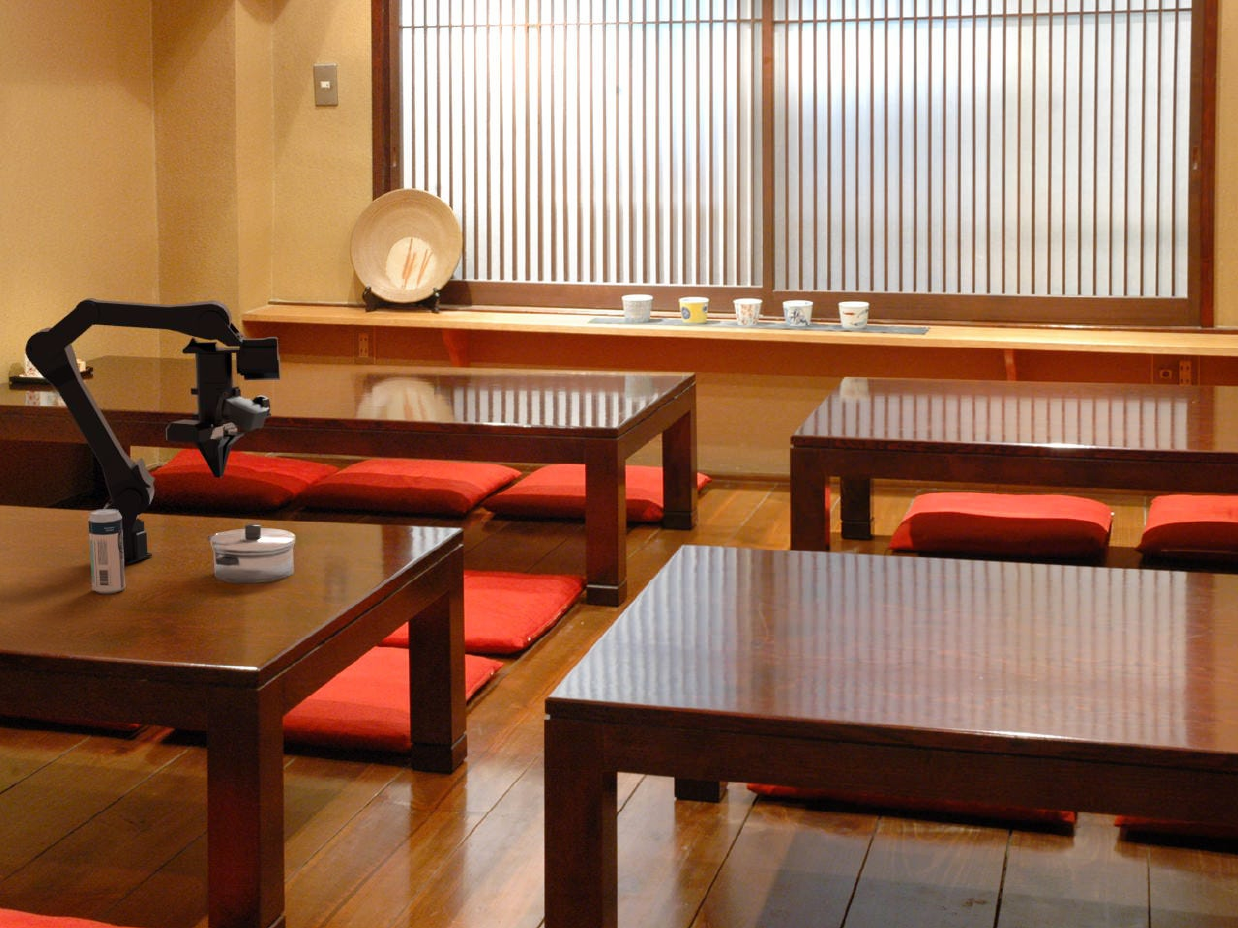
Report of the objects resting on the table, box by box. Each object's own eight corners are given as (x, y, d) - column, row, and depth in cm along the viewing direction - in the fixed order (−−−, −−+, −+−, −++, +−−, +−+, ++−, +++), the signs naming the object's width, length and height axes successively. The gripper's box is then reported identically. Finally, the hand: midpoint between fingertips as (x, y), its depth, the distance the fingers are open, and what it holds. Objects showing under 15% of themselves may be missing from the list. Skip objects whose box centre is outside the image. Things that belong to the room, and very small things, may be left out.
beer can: (132, 590, 237) (128, 511, 235) (103, 596, 233) (98, 516, 231) (114, 584, 240) (110, 506, 238) (85, 590, 236) (81, 511, 234)
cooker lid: (188, 547, 243) (187, 529, 243) (237, 529, 255) (236, 512, 254) (264, 556, 238) (264, 538, 238) (311, 538, 250) (310, 520, 249)
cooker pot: (189, 581, 242) (188, 550, 241) (250, 557, 257) (249, 528, 256) (258, 589, 238) (257, 558, 237) (316, 565, 252) (315, 535, 251)
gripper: (222, 391, 241) (226, 492, 244) (290, 376, 258) (293, 470, 261) (161, 387, 245) (166, 486, 248) (232, 372, 262) (236, 465, 265)
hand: (218, 477), depth 255 cm, fingers closed
